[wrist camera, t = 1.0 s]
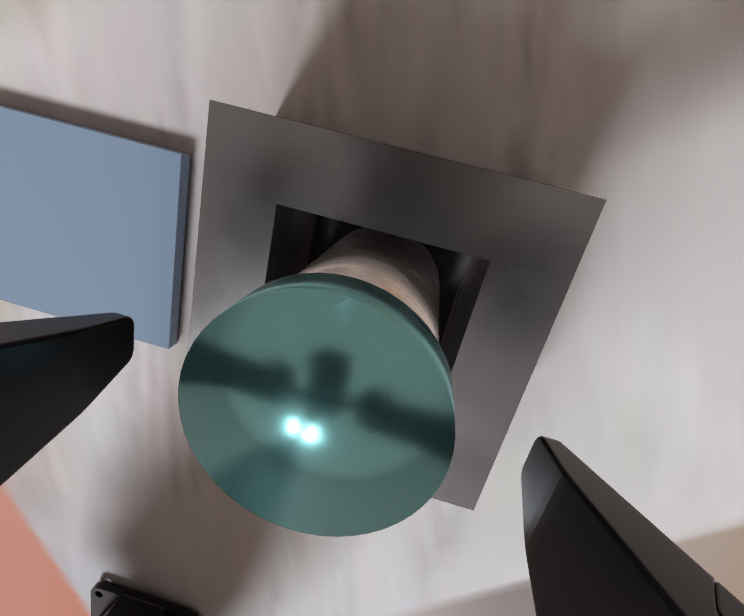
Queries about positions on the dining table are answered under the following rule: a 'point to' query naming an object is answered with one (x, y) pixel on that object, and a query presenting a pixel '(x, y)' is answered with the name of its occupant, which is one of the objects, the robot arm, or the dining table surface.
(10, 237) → the mat
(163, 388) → the dining table surface
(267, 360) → the green lidded jar
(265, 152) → the housing
